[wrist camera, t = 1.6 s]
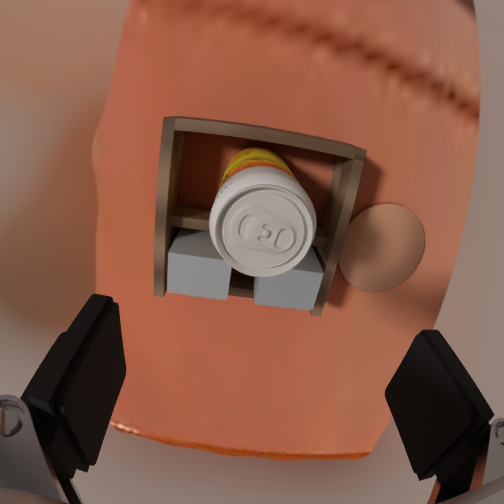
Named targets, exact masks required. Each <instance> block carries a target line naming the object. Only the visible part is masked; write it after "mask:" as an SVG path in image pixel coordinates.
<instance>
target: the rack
mask: <svg viewBox="0 0 504 504" xmlns="http://www.w3.org/2000/svg"><path fill="white" fill-rule="evenodd" d="M185 131H190V132H200V133H209V134H218V135H226V136H233V137H241V138H247V139H254V140H261V141H267V142H273V143H279V144H284V145H290V146H295V147H300V148H306V149H311V150H315V151H320V152H325V153H330V154H334V155H337V158H336V163H335V167H334V172H333V176H332V181H331V185H330V189H329V194H328V198H327V202H326V206H325V211H324V215H323V219H322V223H321V225H316V232H315V236H314V239H313V242H312V244H311V246H316V247H315V251H314V252H315V254H316V256H317V259H318V261H319V263H320V266H321V268H322V270H323V273H324V274H323V278H322V281H321V284H320V288H319V291H318V294H317V298H316V301H315V304H314V307H313V310H310V313H311V316H321V313H322V310H323V307H324V304H325V301H326V298H327V295H328V292H329V289H330V286H331V283H332V279H333V276H334V273H335V270H336V267H337V263H338V260H339V257H340V253H341V250H342V246H343V243H344V239H345V236H346V232H347V229H348V225H349V221H350V218H351V214H352V210H353V206H354V202H355V199H356V195H357V191H358V187H359V183H360V178H361V174H362V170H363V166H364V161H365V157H366V152H367V150H364V149H361V148H359V147H356V146H353V145H351V144H347V143H343V142H339V141H335V140H330V139H326V138H321V137H317V136H312V135H307V134H302V133H297V132H292V131H286V130H281V129H275V128H269V127H263V126H257V125H250V124H244V123H236V122H229V121H221V120H212V119H203V118H193V117H182V116H173V117H164V120H163V128H162V137H161V147H160V158H159V169H158V182H157V197H156V216H155V243H154V296H160V297H164V295H165V292H166V290H167V274H168V252H169V250H170V248H171V246H172V244H173V242H174V240H175V236H176V227H182V228H189V229H197V230H204V231H210V230H209V219H210V213H211V209H207V208H200V207H192V206H184V205H178V195H179V184H180V174H181V164H182V155H183V146H184V137H185ZM228 295H231V296H239V297H247V298H254V278H253V276H250V275H244V274H237V273H231V275H230V282H229V289H228Z"/></svg>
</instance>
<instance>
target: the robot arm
mask: <svg viewBox="0 0 504 504" xmlns="http://www.w3.org/2000/svg"><path fill="white" fill-rule="evenodd" d="M125 375H126V363H125V356H124V349H123V341H122V333H121V324H120V314H119V305H118V303H115V302H113V298H112V297H110V296H105V295H99V294H93V295H91V297H90V298H89V299H88V301H87V302H86V304H85V305H84V306H83V308H82V309H81V311H80V312H79V314H78V315H77V317H76V318H75V319H74V321H73V322H72V324H71V325H70V327H69V328H68V330H67V331H66V332H63V333H61V334H60V335H59V337H58V338H57V340H56V341H55V343H54V344H53V346H52V347H51V349H50V350H49V352H48V354H47V355H46V357H45V358H44V360H43V361H42V363H41V365H40V366H39V368H38V369H37V371H36V373H35V374H34V376H33V377H32V379H31V381H30V383H29V384H28V386H27V388H26V389H25V391H24V393H23V395H22V396H21V398H20V399H19V398H17V397H15V396H12V395H0V504H84V502H83V501H82V498H81V497H80V495H79V493H78V491H77V489H76V487H75V485H74V483H73V481H72V478H73V477H74V474H75V471H76V469H78V470H81V471H84V472H88V469H89V465H92V466H94V465H95V464H96V462H97V458H98V455H99V452H100V449H101V446H102V443H103V439H104V436H105V433H106V430H107V427H108V424H109V421H110V419H111V416H112V413H113V410H114V407H115V404H116V401H117V398H118V396H119V393H120V390H121V387H122V385H123V382H124V379H125ZM385 398H386V401H387V403H388V406H389V408H390V411H391V413H392V416H393V418H394V421H395V423H396V426H397V428H398V431H399V434H400V436H401V439H402V442H403V444H404V447H405V450H406V452H407V455H408V458H409V461H410V463H411V466H412V469H413V471H414V473H416V474H417V476H418V478H419V481H421V480H424V479H427V478H431V477H432V476H434V475H435V474H436V477H437V479H436V482H435V484H434V487H433V490H432V493H431V495H430V498H429V501H428V503H427V504H504V418H498V419H496V420H494V421H493V423H492V424H491V425H490V424H489V423H488V422H489V421H490V420H491V418H492V417H493V416H494V413H493V412H492V410H491V408H490V406H489V405H488V403H487V402H486V400H485V399H484V397H483V395H482V394H481V392H480V390H479V389H478V387H477V386H476V384H475V382H474V381H473V379H472V378H471V376H470V375H469V373H468V372H467V370H466V369H465V367H464V366H463V364H462V363H461V361H460V360H459V358H458V357H457V356H456V354H455V353H454V351H453V350H452V348H451V347H450V346H449V344H448V343H447V341H446V340H445V338H444V337H443V336H442V334H441V333H440V332H439V331H438V330H422V331H421V332H420V333H419V334H417V335H416V337H415V338H414V340H413V342H412V344H411V346H410V348H409V349H408V351H407V353H406V355H405V357H404V359H403V360H402V362H401V364H400V366H399V367H398V369H397V371H396V372H395V374H394V376H393V378H392V379H391V381H390V383H389V384H388V386H387V387H386V390H385Z"/></svg>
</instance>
